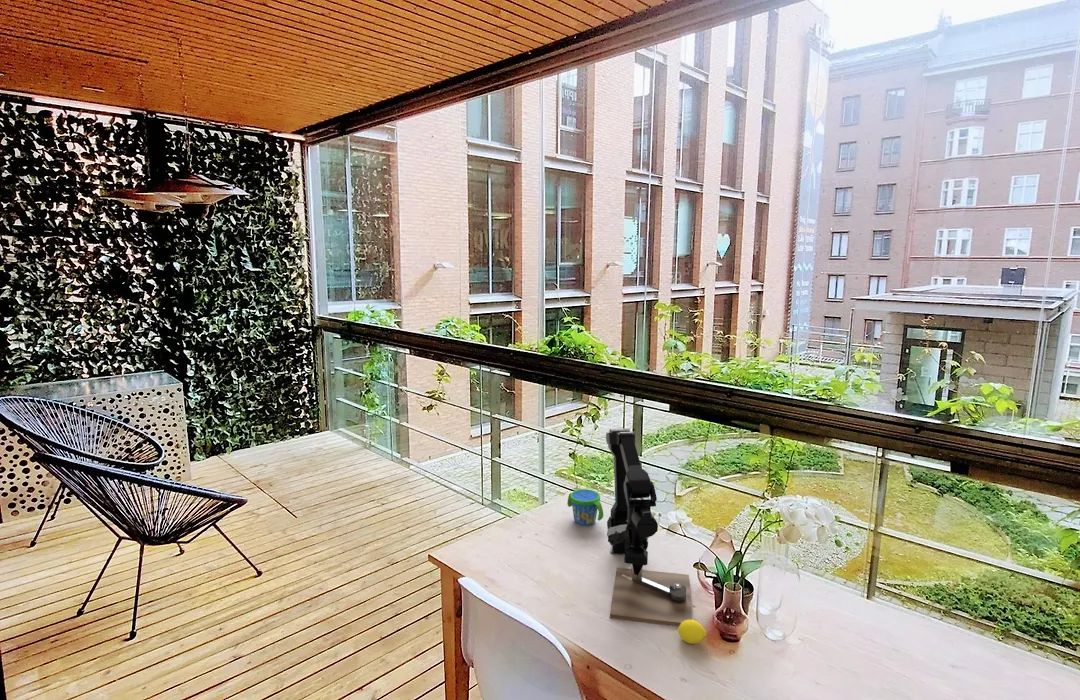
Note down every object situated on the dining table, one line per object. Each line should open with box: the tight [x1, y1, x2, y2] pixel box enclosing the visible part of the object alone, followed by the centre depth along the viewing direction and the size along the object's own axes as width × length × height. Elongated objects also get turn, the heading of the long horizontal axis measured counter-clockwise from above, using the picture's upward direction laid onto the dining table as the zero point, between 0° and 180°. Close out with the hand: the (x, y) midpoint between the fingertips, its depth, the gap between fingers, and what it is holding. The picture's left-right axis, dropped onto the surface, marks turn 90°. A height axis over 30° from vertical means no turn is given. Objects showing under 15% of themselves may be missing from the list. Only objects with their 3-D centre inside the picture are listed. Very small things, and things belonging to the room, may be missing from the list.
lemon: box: [677, 619, 708, 645], centre depth 139 cm, size 7×5×5 cm
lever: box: [630, 564, 686, 603], centre depth 158 cm, size 17×4×7 cm, turn 49°
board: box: [609, 567, 693, 628], centre depth 158 cm, size 23×21×1 cm
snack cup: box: [566, 488, 604, 527], centre depth 202 cm, size 16×10×10 cm
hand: (636, 571), depth 163 cm, fingers closed on lever, 3 cm apart
